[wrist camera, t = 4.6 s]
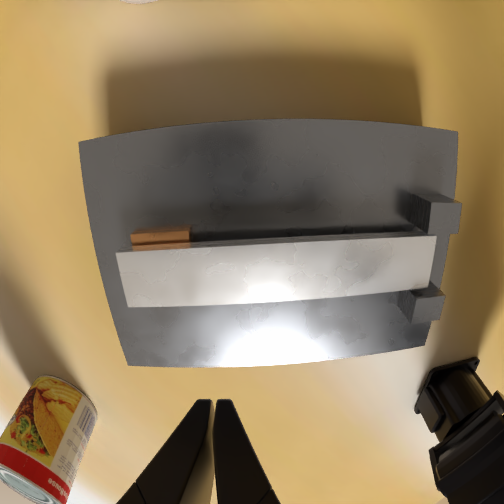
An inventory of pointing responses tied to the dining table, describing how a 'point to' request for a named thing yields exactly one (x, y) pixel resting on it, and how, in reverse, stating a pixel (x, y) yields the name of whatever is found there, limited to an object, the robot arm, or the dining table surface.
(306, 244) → the steel strap
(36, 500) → the canned food
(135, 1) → the coffee cup
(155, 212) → the silver metal tray
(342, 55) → the dining table surface
